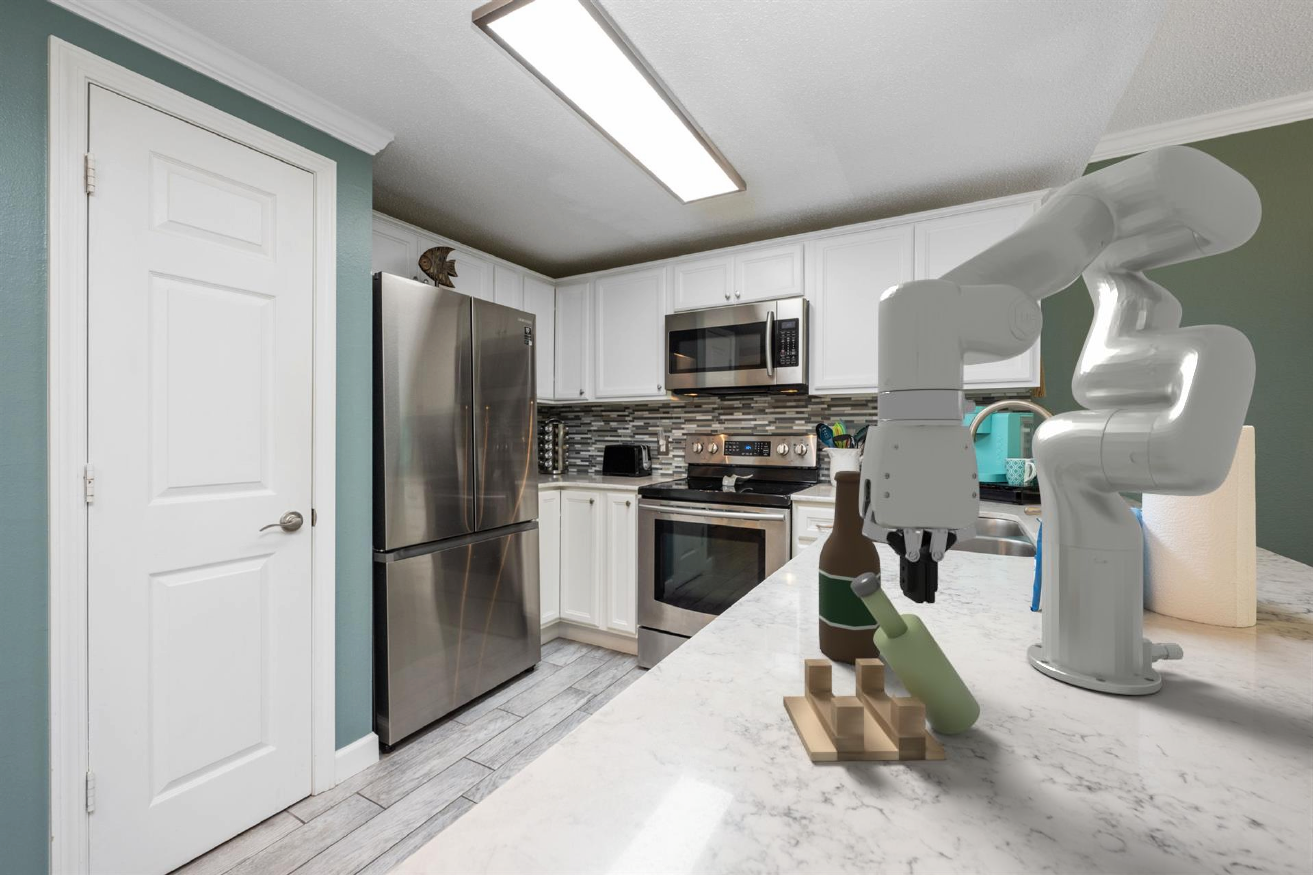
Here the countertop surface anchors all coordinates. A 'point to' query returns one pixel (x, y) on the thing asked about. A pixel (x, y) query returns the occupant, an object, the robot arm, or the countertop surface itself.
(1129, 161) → the robot arm
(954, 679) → the bottle
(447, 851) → the countertop surface
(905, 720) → the rest
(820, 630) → the beer bottle
